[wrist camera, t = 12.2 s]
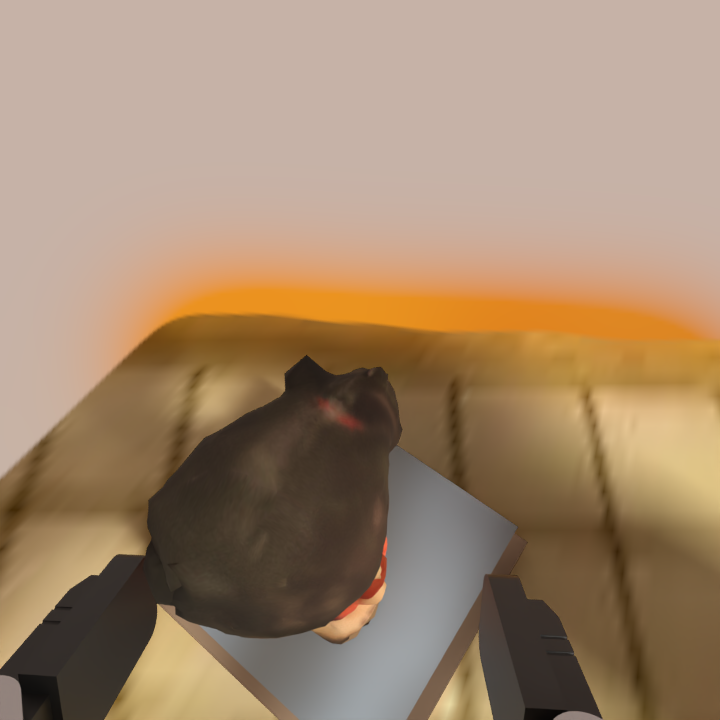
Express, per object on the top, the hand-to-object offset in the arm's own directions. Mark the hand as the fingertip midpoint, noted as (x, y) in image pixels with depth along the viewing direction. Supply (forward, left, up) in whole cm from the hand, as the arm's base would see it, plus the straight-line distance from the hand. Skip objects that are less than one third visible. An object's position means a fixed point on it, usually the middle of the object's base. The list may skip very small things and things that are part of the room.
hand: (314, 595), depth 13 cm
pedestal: (+1, -2, -13) cm, 13 cm away
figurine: (+2, -1, -8) cm, 8 cm away
